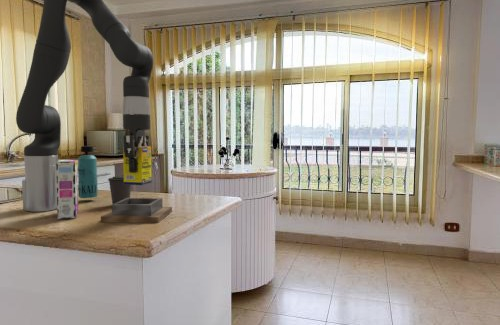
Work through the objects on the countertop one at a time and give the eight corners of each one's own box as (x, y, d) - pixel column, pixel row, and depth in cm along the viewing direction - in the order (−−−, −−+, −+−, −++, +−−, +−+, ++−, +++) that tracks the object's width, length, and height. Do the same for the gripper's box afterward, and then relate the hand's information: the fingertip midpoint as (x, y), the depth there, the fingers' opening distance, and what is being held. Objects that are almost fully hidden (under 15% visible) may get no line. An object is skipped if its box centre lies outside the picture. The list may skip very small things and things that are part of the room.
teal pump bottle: (85, 198, 129) (83, 145, 128) (102, 199, 128) (100, 145, 127) (74, 202, 123) (72, 146, 121) (91, 202, 122) (90, 146, 120)
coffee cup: (133, 202, 123) (133, 174, 122) (133, 206, 115) (132, 177, 115) (109, 203, 120) (108, 175, 120) (107, 208, 113) (106, 177, 112)
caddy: (100, 221, 95) (100, 205, 94) (121, 210, 109) (121, 196, 108) (158, 222, 94) (158, 206, 94) (171, 211, 108) (171, 197, 108)
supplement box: (142, 185, 97) (141, 146, 96) (123, 184, 98) (122, 146, 98) (152, 182, 103) (151, 146, 102) (134, 182, 104) (133, 146, 103)
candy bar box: (77, 218, 98) (75, 161, 97) (57, 220, 96) (55, 161, 95) (79, 211, 108) (77, 158, 107) (61, 212, 106) (59, 159, 105)
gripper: (133, 115, 107) (134, 168, 108) (112, 111, 92) (114, 173, 93) (157, 115, 106) (158, 169, 107) (140, 111, 92) (141, 173, 93)
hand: (137, 171), depth 100 cm, fingers closed on supplement box, 6 cm apart
